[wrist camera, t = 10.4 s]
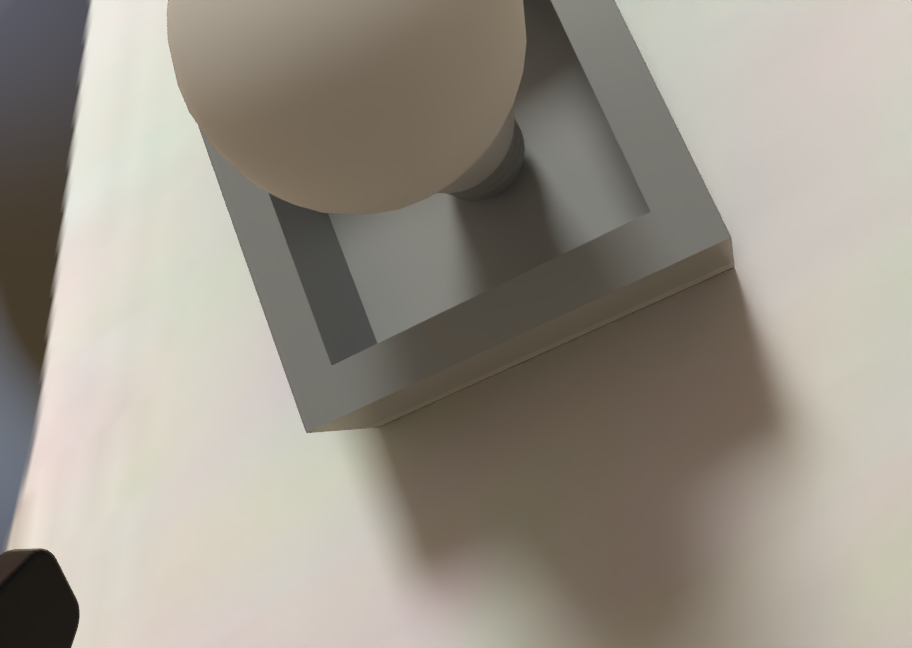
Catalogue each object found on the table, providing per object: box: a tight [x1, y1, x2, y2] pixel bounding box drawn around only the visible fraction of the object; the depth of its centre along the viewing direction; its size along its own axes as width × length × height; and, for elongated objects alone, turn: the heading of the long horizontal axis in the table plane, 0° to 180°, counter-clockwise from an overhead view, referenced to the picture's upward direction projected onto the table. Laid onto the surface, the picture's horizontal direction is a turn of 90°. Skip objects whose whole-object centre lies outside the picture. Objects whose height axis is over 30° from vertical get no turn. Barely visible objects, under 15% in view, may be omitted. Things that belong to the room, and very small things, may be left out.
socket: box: [198, 0, 734, 433], centre depth 21 cm, size 10×10×4 cm
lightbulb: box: [167, 0, 527, 214], centre depth 17 cm, size 6×6×11 cm
